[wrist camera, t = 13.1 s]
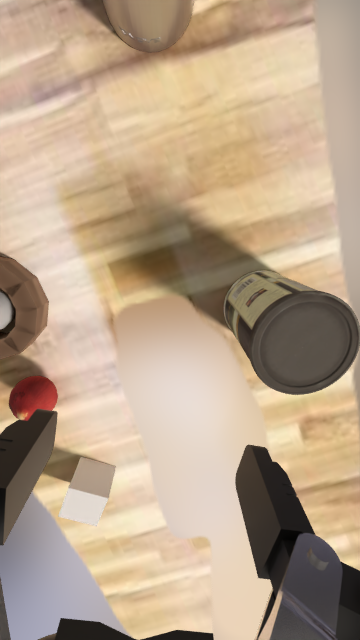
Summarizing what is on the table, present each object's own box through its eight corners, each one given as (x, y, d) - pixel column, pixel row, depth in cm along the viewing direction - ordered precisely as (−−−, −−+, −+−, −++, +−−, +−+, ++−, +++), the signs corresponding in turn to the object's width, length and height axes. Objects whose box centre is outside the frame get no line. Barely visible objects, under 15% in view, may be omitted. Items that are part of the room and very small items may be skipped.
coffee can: (277, 349, 42) (327, 407, 28) (212, 328, 40) (232, 378, 27) (309, 284, 39) (383, 313, 25) (240, 258, 37) (280, 275, 24)
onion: (23, 395, 43) (-9, 431, 35) (28, 362, 41) (-5, 392, 33) (62, 404, 43) (38, 441, 36) (68, 371, 42) (45, 403, 34)
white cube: (71, 482, 48) (57, 516, 42) (81, 455, 47) (68, 487, 41) (105, 491, 49) (96, 526, 43) (116, 466, 47) (108, 498, 42)
